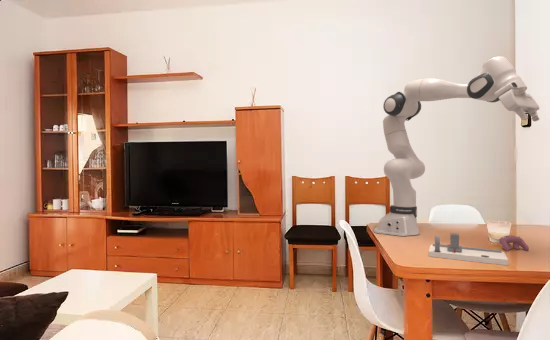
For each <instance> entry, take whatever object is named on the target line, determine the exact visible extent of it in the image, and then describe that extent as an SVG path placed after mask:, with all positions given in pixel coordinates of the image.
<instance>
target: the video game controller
mask: <svg viewBox="0 0 550 340" xmlns="http://www.w3.org/2000/svg"><path fill="white" fill-rule="evenodd" d="M498 242H499V244H500V245H501V247H502V248H503V250H505V251H506V252H509V250H511V249H514V250H519V249H520V247H521V249H523V250H524V251H526V252H529V250H530V249H529V248H530V247H529V246H528V244H527V243H526V242H525V240H524V239H523V238H522V237H521V236H516V235H504V236H502V237H500V238H498ZM511 243H512V244H511Z"/></svg>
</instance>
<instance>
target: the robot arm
mask: <svg viewBox="0 0 550 340" xmlns="http://www.w3.org/2000/svg"><path fill="white" fill-rule="evenodd" d="M516 71H517V70H516V69H515V67H514V65H513V64H512V63H511V62H510V61H509V60H508V58H506V57H505V56H503V55H501V56H500V55H496V56H494V57H491V58H489V59H487V60H485V61H484V62H483V63H482V66H481V69H480V70H479V72H478V73H477V74H476V75H475V76H474V78H472V79H471V80H470V81H469V82H468V83H465V84H464V83H457V82H453V81H452V82H451V81H449V80H445V79H442V78H437V77H435V78H434V77H426V78H419V79H418V78H417V79H413V80H410V81H409V82H407V83H406V84H405V86H404V89H403V91H402V92H401V91H397V92H395V93H394V94H391V95H390V96H388V97H387V98H386V99H384V101H383V110H384V111H383V112H385V113H386V114H387V115H385V117H384V118H383V120H382V125H383V126H382V127H383V128H382V129H383V134H384V135H383V136H384V138H385V143H386V146H387V150H388V152H389V153H391V154H392V155H393V156H394V158H393V159H390V160H388V161H386V162H385V164H384V166H383V173H384V175H385V176H386V177H387V178H388V181H389V182H390V185H391V187H392V198H393V204H391V205H390V206H389V208H388V210H389V212H388V213H386V214H385V215H384V216H383V217H381V218H380V219H379V221H378V224H377V225H378V226H377V227H375V228H373V232H374V233H375V234H382V235H388V236H389V235H390V236H399V237H407V236H417V235H419V234H420V230H419V227H418V221H417V217H418V206H417V192H416V190H415V188H414V187H413V186H412V182H411V180H415V179H417V178H420V177H422V176H423V175H424V173H425V172H426V165H425V163H424V162H423V161H422V160H420V158H419V157H418V156H417V154H416V153H415V151H414V149H413V148H412V145H411V143H410V139H409V136H408V133H407V128H406V126H405V122H406V121H408V122H409V121H411V119H413V118H414V117H416V116H418V114H420V112H421V110H422V103H421V102H434V101H441V100H450V99H474V100H478V101H483V102H488V103H496V102H499V101H500V103H501V104H502V105H503V107H504V108H505V109H506V110H507V111H509V112H514V113H515V114H516V115H517V116H518V117H519V118H520V119H521V120H522V121H526V120H528V119H529V117H528V114H529V116H530V117H531V120H532V122H538V121H540V117H539V115H538V112H537V111H539V110H540V106H539V104H538V102H537V101H536V100H535V98H534V97H533V96H532V95H530V94H529V93H526V90H528V87H527V85H526V84H525V82H524V80H523V79H522V77H520V76H519V75H518V74H517V72H516Z"/></svg>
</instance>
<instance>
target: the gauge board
mask: <svg viewBox="0 0 550 340" xmlns="http://www.w3.org/2000/svg"><path fill="white" fill-rule="evenodd" d="M448 245H449V244H444V243H443V244H441V236H440V235H434V243H432V244H430V246H429V249H428V257H430V258H437V259H438V258H440V259H448V260H456V261H457V260H458V261H465V262H466V261H467V262H475V263H485V264H492V265H500V266H509V258H508V257H507V255H506V253H505V252H504V251H502V250H501V249H495V248H494V249H493V248H483V247H472V246H463V245H461V246H462V252H457V251H456V252H454V251H447V246H448Z"/></svg>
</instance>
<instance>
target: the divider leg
mask: <svg viewBox="0 0 550 340" xmlns="http://www.w3.org/2000/svg"><path fill="white" fill-rule="evenodd" d="M449 237H450V239H449V240H450V241H449V243H450V244H447V245H448V246H447V251H454V252H456V251H457V252H462V246H463V245H460V234H459V233H454V232H450V235H449Z"/></svg>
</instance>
